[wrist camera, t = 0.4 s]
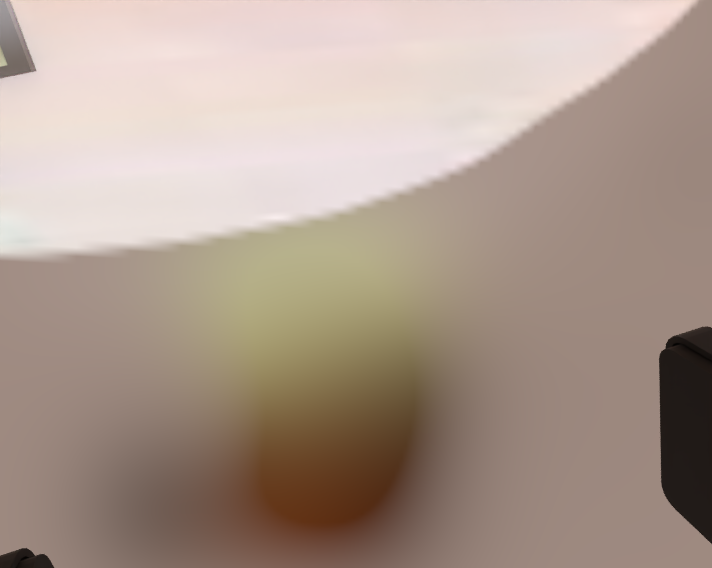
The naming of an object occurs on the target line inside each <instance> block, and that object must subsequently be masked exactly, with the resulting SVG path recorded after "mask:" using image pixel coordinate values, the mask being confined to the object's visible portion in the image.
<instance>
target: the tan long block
mask: <svg viewBox="0 0 712 568" xmlns="http://www.w3.org/2000/svg"><path fill="white" fill-rule="evenodd" d="M33 71H36V69H35V66H34V63H33V61H32V58H31V55H30V53H29V50H28V47H27V45H26V42H25V39H24V37H23V34H22V31H21V29H20V26H19V23H18V21H17V18H16V15H15V13H14V10H13V7H12V5H11V2H10V0H0V78H4V77H9V76H14V75H18V74H23V73H28V72H33Z"/></svg>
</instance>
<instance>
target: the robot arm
mask: <svg viewBox="0 0 712 568" xmlns="http://www.w3.org/2000/svg"><path fill="white" fill-rule="evenodd" d="M659 369H660V371H659V374H660V432H661V483H662V488H663V491H664V494H665V496H666V498H667V499H668V501H669V502H670V504H671V505H672V506H673V507H674V508H675V509H676V510H677V511H678V512H679V513H680V514H681V515H682V516H683V517H684V518H685V519H686V520H687V521H688V522H689V523H690V524H691V525H693V526H694V527H695V528H696V529H697V530H698V531H699V532H700V533H701V534H702V535H703V536H704V537H705V538H706V539H707V540H708V541H709V542H710V543H712V328H711V327H701V328H698V329H695V330H692V331H689V332H686V333H682V334H679V335H676V336H673V337H672V338H670V339H669V340H668V342H667V343H666V349H664V350H663V351H662V352H661V353H660V358H659ZM0 568H54V567H53V565H52V563H51V561H50V560H49V558H48V557H47V556H46V555H44V554H40V555H37V556H35V555H34V554H33V552H32V551H30V550H29V549H27V548H22V549H19V550H16V551H13V552H10V553H7V554H4V555H1V556H0Z"/></svg>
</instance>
